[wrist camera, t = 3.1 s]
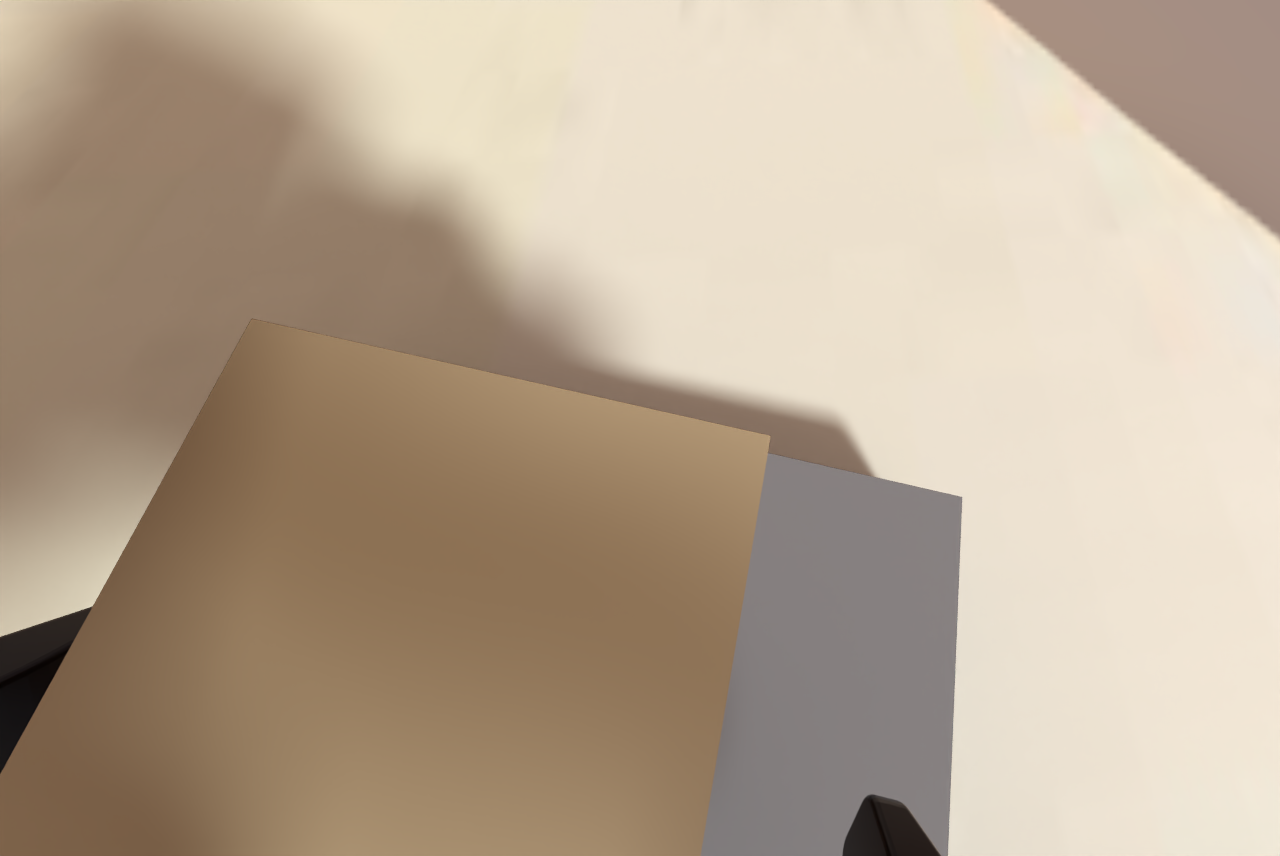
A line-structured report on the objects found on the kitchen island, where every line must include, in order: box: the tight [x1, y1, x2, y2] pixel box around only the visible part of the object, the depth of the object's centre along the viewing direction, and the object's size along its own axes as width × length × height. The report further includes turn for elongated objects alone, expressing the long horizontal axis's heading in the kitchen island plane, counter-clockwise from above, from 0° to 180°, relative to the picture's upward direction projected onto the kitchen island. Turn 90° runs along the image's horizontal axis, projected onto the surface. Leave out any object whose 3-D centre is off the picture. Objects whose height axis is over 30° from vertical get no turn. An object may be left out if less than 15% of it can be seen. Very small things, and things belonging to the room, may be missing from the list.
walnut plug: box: [0, 319, 771, 856], centre depth 10 cm, size 4×4×12 cm
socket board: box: [701, 453, 962, 856], centre depth 14 cm, size 12×16×3 cm
